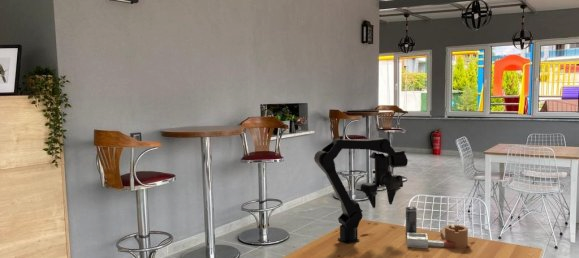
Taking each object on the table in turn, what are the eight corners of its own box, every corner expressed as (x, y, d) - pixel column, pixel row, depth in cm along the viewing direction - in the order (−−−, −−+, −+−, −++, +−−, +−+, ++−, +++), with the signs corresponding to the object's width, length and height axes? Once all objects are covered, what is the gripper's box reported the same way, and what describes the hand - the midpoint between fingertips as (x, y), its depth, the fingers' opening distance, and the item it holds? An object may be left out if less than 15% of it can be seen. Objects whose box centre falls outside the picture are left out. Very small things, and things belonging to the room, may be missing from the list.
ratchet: (407, 240, 182) (407, 232, 182) (453, 243, 178) (453, 235, 177) (407, 247, 175) (407, 238, 174) (455, 250, 170) (455, 241, 170)
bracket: (469, 249, 172) (470, 231, 172) (447, 248, 174) (447, 230, 173) (459, 234, 190) (459, 218, 190) (438, 234, 191) (439, 217, 191)
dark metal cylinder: (411, 236, 188) (411, 210, 187) (403, 233, 192) (403, 207, 191) (418, 234, 190) (419, 208, 189) (411, 231, 194) (411, 206, 193)
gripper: (378, 174, 174) (379, 214, 175) (412, 168, 183) (413, 206, 185) (359, 170, 183) (360, 208, 184) (392, 165, 193) (393, 201, 194)
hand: (382, 206), depth 187 cm, fingers open, 9 cm apart
